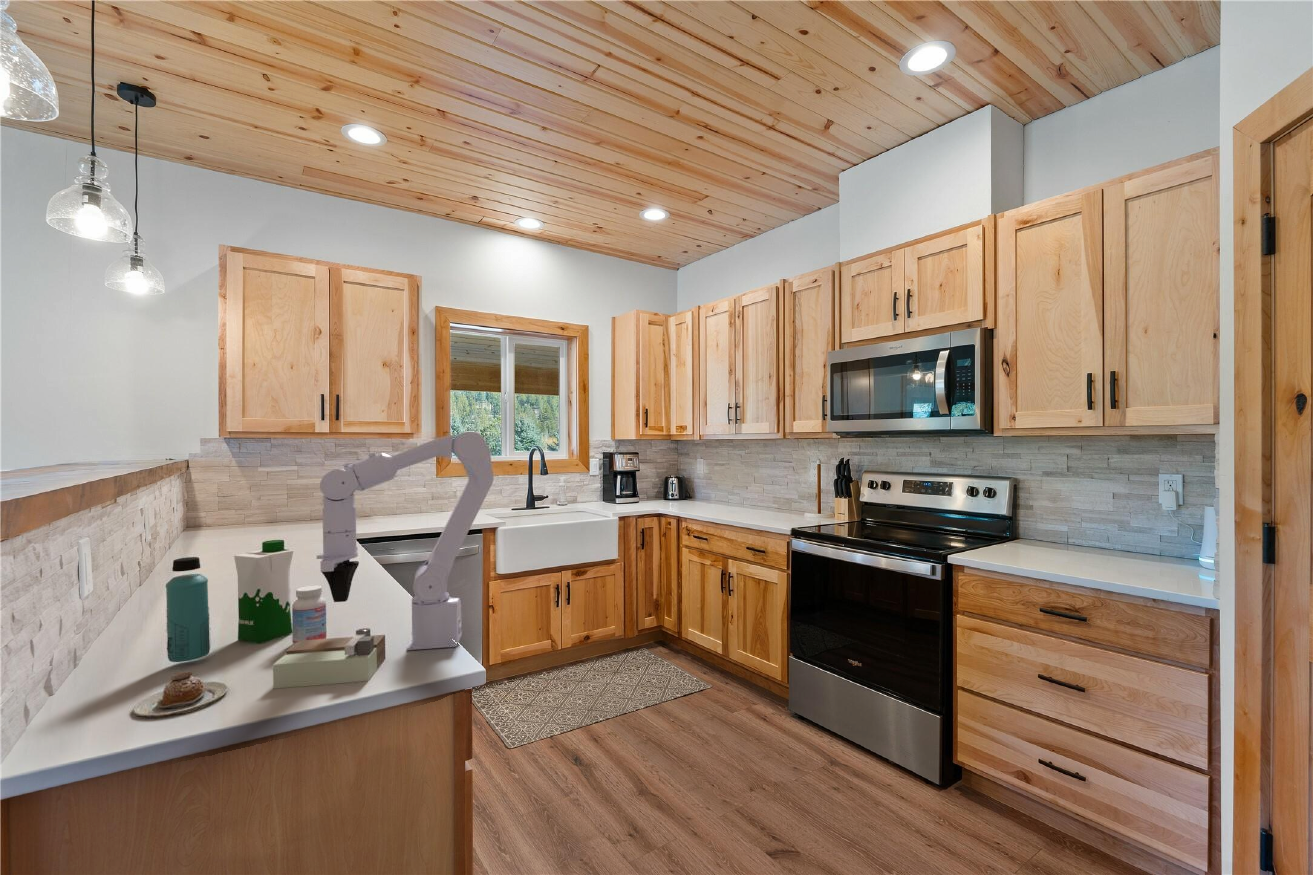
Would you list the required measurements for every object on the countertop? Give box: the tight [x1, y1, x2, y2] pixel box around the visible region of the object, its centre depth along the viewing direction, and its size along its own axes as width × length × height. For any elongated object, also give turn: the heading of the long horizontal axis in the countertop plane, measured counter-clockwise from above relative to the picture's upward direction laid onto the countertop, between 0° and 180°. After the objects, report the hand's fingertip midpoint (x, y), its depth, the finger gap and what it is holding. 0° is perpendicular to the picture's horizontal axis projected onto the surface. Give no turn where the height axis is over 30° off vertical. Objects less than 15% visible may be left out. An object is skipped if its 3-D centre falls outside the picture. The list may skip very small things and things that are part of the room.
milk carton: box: [233, 539, 294, 645], centre depth 127 cm, size 9×9×20 cm
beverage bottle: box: [165, 556, 212, 663], centre depth 112 cm, size 6×7×20 cm
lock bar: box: [345, 627, 371, 655], centre depth 106 cm, size 9×2×2 cm, turn 10°
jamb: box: [285, 634, 386, 670], centre depth 109 cm, size 15×6×4 cm, turn 100°
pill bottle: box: [291, 585, 328, 646], centre depth 123 cm, size 6×6×11 cm
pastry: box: [132, 671, 229, 719], centre depth 95 cm, size 12×12×5 cm
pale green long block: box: [272, 635, 378, 689], centre depth 104 cm, size 15×5×6 cm, turn 100°
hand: (340, 600), depth 115 cm, fingers closed
